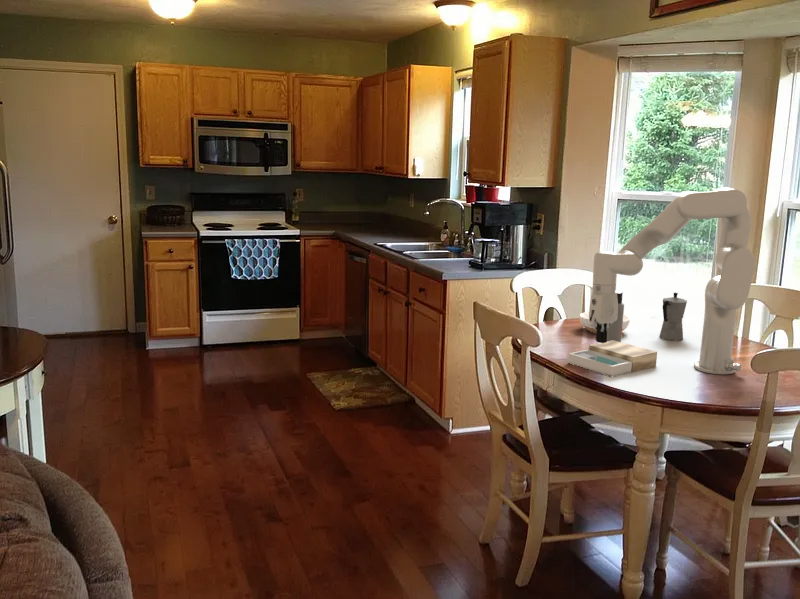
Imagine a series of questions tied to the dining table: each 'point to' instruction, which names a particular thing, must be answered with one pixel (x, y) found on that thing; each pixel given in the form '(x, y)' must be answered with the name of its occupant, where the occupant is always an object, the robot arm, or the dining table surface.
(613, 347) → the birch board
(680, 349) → the dining table surface
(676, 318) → the coffeepot
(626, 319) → the bowl
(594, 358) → the slate tile
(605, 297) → the robot arm
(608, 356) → the box
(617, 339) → the lotion bottle
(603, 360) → the teal tile
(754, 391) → the dining table surface
